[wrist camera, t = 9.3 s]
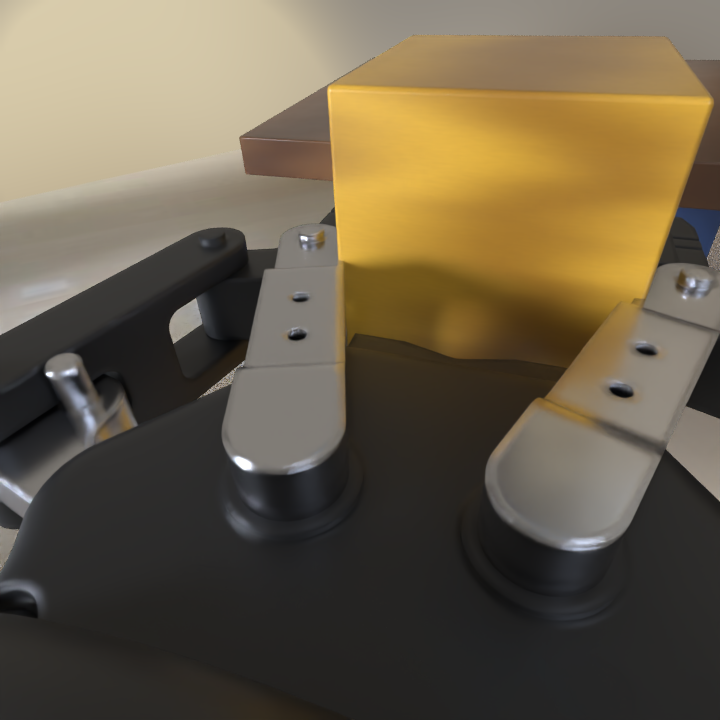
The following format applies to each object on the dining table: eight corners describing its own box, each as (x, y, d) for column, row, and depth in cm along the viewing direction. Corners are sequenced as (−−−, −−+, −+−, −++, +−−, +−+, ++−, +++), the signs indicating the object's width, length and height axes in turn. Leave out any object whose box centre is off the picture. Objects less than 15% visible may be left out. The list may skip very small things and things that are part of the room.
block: (353, 509, 14) (324, 84, 8) (403, 387, 17) (410, 34, 11) (554, 562, 12) (718, 98, 6) (562, 417, 16) (669, 36, 10)
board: (245, 174, 22) (238, 136, 21) (374, 82, 35) (373, 56, 34) (901, 225, 16) (932, 175, 15) (757, 91, 29) (769, 60, 28)
